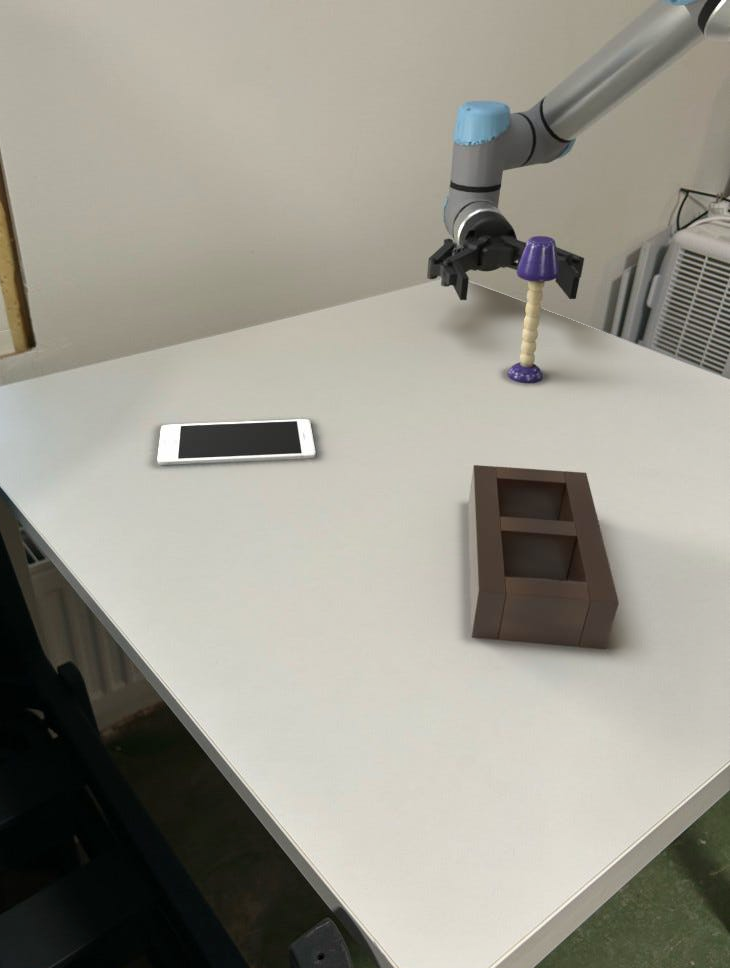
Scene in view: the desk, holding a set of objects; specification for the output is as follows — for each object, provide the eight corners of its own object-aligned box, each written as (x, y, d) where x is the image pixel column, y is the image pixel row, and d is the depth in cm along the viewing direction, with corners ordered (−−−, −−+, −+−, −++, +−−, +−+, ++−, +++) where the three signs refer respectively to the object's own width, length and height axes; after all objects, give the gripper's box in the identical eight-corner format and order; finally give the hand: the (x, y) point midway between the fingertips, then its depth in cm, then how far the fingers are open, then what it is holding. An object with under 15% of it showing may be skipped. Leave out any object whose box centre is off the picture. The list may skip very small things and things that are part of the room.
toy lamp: (509, 387, 99) (530, 246, 89) (496, 371, 102) (515, 233, 93) (547, 385, 99) (572, 244, 89) (533, 369, 103) (556, 232, 93)
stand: (575, 518, 77) (586, 472, 74) (604, 653, 62) (619, 602, 59) (467, 510, 78) (473, 464, 75) (470, 641, 63) (478, 590, 60)
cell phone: (162, 429, 89) (161, 424, 89) (309, 423, 91) (309, 418, 90) (157, 467, 83) (156, 461, 83) (316, 459, 84) (316, 454, 84)
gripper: (565, 263, 120) (613, 317, 103) (395, 264, 119) (415, 319, 102) (575, 209, 116) (627, 256, 99) (399, 210, 115) (420, 258, 98)
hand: (519, 288), depth 100 cm, fingers open, 13 cm apart
